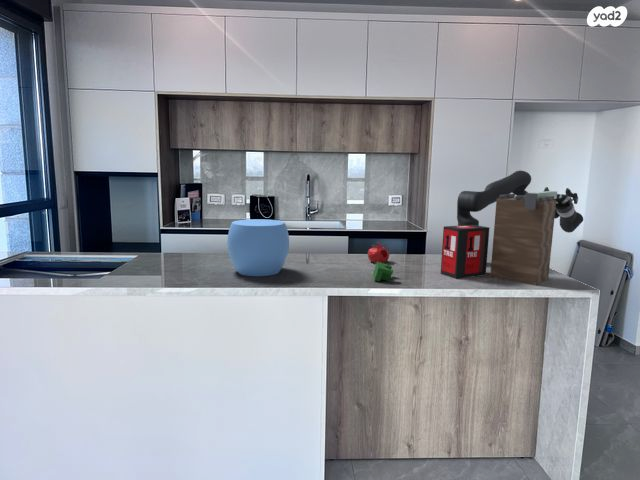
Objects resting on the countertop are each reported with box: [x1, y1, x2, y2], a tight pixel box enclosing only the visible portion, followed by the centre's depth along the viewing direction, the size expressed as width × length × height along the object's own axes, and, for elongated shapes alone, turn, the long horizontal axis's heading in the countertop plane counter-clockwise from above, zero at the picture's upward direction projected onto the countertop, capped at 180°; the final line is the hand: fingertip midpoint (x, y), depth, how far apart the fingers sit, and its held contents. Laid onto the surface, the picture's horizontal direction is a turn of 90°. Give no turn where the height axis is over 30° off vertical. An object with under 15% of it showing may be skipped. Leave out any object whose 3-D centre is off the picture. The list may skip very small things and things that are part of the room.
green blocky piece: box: [372, 262, 394, 283], centre depth 183 cm, size 12×6×9 cm, turn 170°
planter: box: [227, 218, 290, 277], centre depth 190 cm, size 25×25×20 cm
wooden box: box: [489, 193, 556, 286], centre depth 186 cm, size 14×18×34 cm
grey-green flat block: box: [524, 190, 558, 210], centre depth 184 cm, size 26×4×6 cm, turn 137°
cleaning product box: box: [440, 225, 491, 280], centre depth 192 cm, size 16×9×20 cm, turn 117°
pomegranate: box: [367, 241, 390, 264], centre depth 213 cm, size 10×10×9 cm
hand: (556, 189), depth 204 cm, fingers open, 8 cm apart
